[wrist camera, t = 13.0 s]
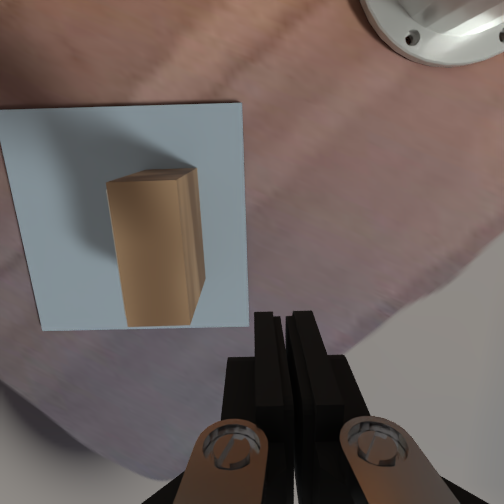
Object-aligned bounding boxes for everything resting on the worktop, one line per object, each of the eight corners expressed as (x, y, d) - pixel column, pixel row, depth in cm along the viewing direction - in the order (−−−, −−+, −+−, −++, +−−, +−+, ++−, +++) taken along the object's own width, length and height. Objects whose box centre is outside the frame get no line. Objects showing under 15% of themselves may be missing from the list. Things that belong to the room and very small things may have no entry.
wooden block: (197, 167, 25) (176, 179, 18) (205, 278, 27) (190, 325, 21) (142, 169, 25) (101, 182, 18) (155, 280, 27) (124, 327, 21)
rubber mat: (241, 103, 24) (241, 102, 24) (249, 323, 29) (249, 326, 28) (-2, 110, 24) (-7, 110, 24) (46, 327, 29) (42, 330, 29)
